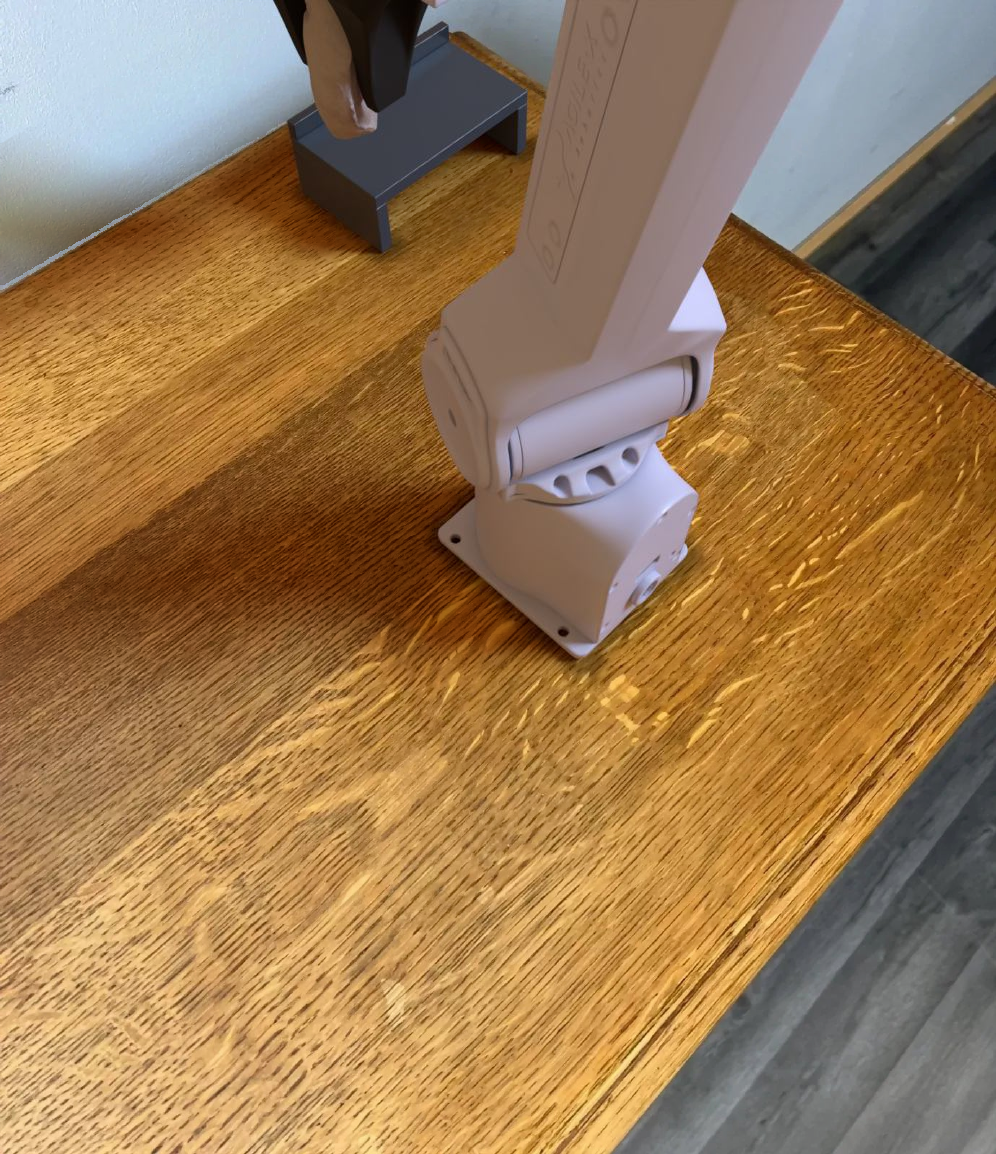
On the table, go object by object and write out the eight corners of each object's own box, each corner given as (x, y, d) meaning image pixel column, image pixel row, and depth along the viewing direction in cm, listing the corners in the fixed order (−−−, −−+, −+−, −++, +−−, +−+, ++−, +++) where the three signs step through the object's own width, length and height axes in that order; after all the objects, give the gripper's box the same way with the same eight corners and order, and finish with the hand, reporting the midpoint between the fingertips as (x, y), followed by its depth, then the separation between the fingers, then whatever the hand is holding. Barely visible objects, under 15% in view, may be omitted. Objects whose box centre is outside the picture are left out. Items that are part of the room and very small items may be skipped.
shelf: (526, 148, 61) (528, 75, 57) (382, 253, 57) (372, 183, 53) (445, 95, 64) (441, 19, 59) (302, 192, 60) (286, 120, 55)
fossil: (371, 184, 51) (345, -6, 42) (305, 173, 51) (265, -18, 42) (401, 107, 53) (383, -87, 45) (338, 97, 54) (307, -98, 45)
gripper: (100, -281, 38) (195, 49, 50) (361, -129, 34) (396, 193, 46) (244, -345, 41) (302, -15, 53) (505, -211, 36) (503, 116, 48)
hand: (353, 77), depth 49 cm, fingers closed on fossil, 4 cm apart
